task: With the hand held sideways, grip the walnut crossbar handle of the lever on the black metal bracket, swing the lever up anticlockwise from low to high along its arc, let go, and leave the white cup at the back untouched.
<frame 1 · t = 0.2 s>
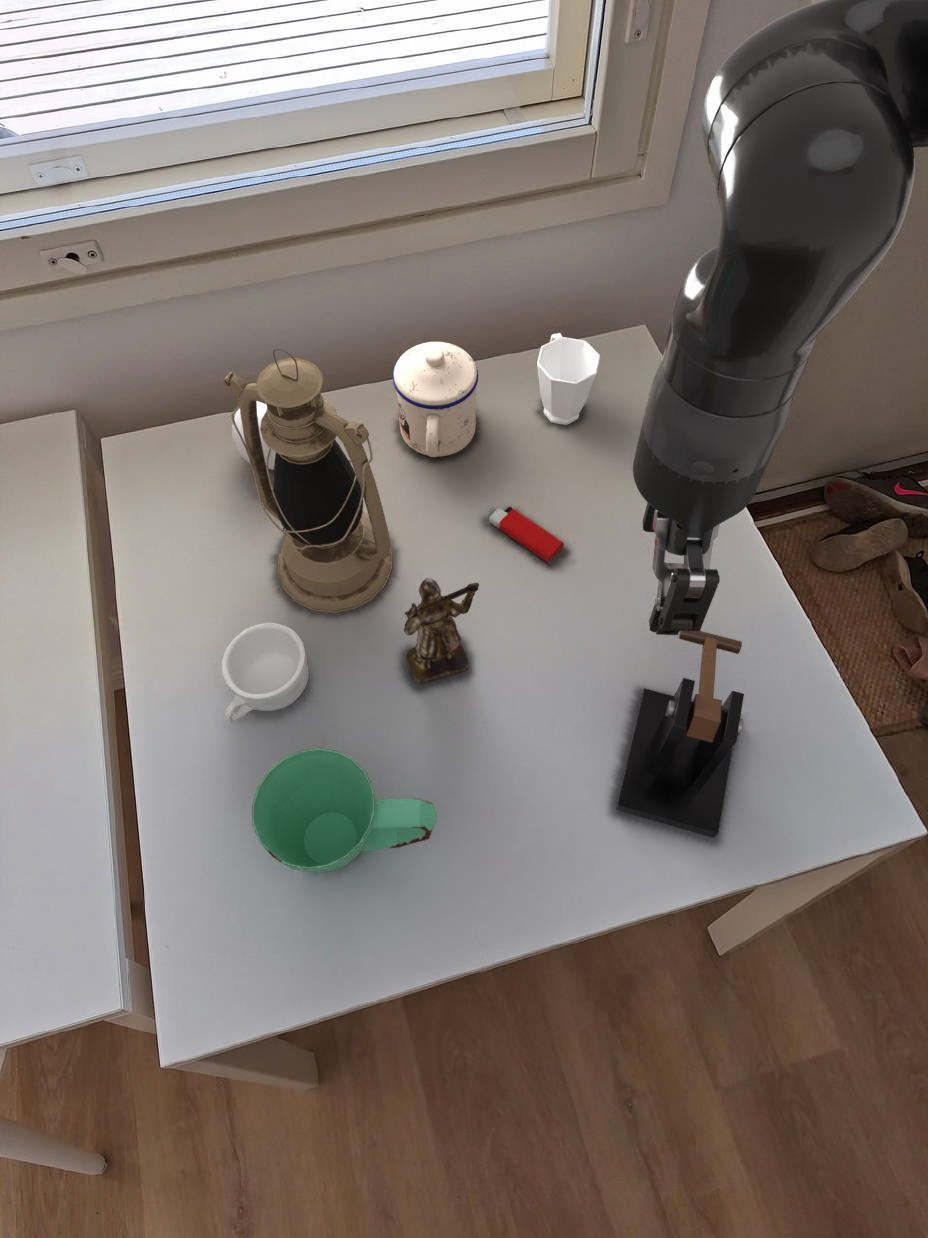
hand: (660, 576, 64), 24 cm above the table, tool pointing down, fingers open, 8 cm apart
lighter: (525, 536, 94), on the table
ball: (277, 457, 100), on the table
teacup with lid: (437, 439, 101), on the table
cup: (558, 402, 103), on the table
mug: (358, 840, 79), on the table
figurine: (444, 660, 87), on the table
lantern: (335, 563, 93), on the table
lever: (707, 679, 76), point 9 cm above the table, hinge at -25.0°
teacup: (268, 693, 86), on the table
bracket: (676, 762, 82), on the table
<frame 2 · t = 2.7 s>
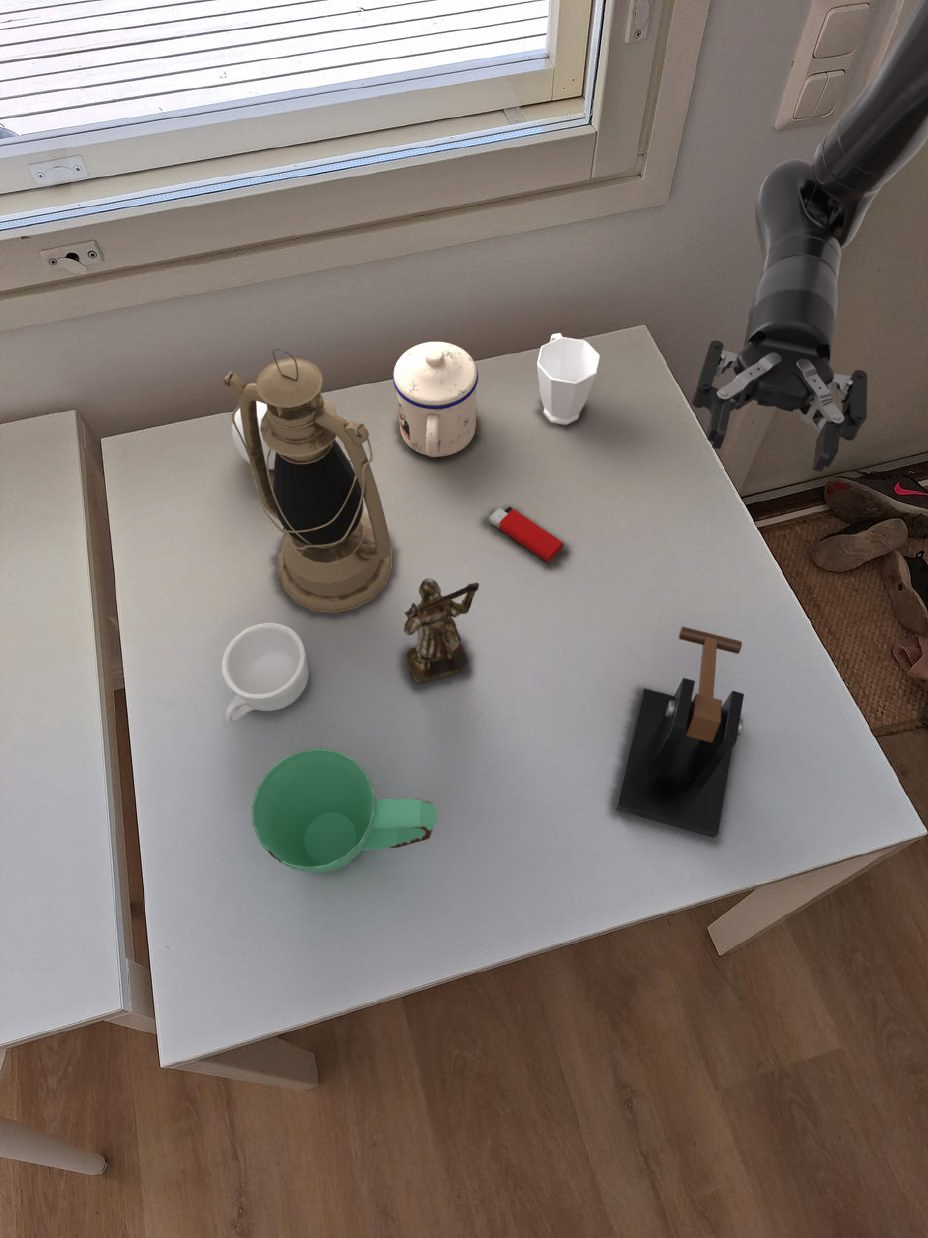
hand: (769, 453, 74), 20 cm above the table, tool horizontal, fingers open, 8 cm apart
nothing on the table moved.
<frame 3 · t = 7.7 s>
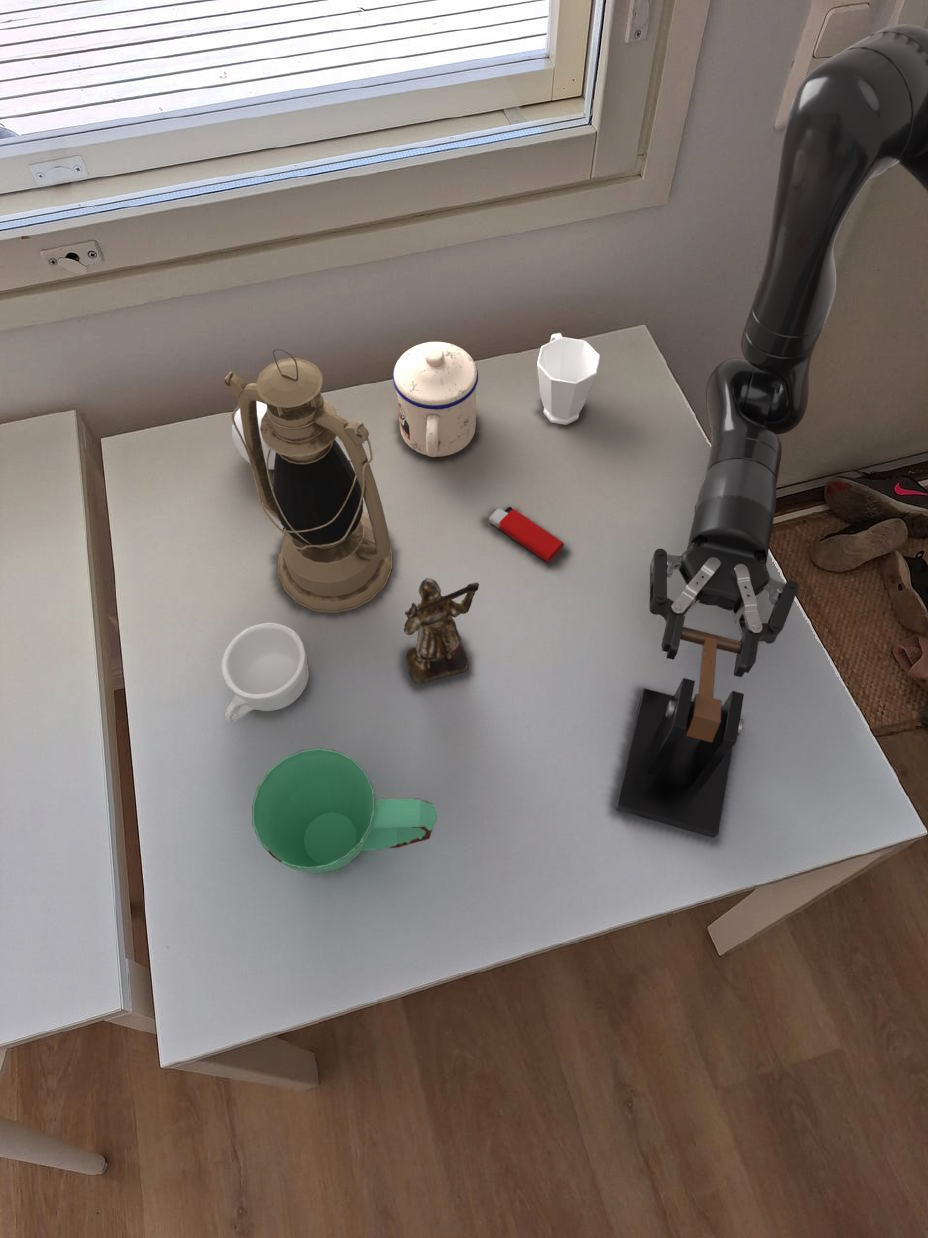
hand: (706, 663, 80), 6 cm above the table, tool horizontal, fingers closed on lever, 5 cm apart
lever: (707, 679, 76), point 9 cm above the table, hinge at -25.0°, touching gripper
everything else where it was.
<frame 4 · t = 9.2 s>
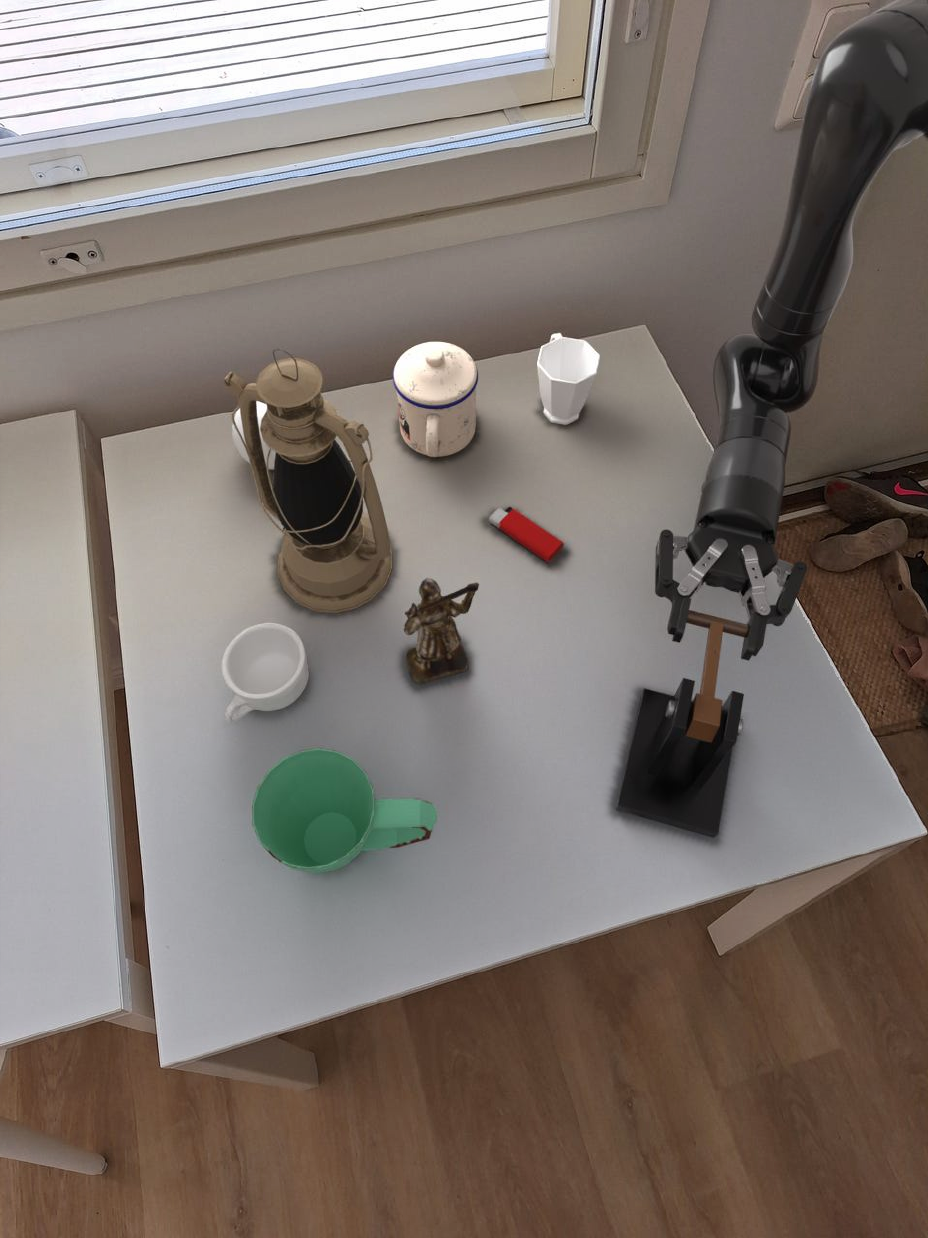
hand: (712, 646, 78), 8 cm above the table, tool horizontal, fingers closed on lever, 5 cm apart
lever: (710, 672, 76), point 10 cm above the table, hinge at -14.2°, touching gripper
everything else where it was.
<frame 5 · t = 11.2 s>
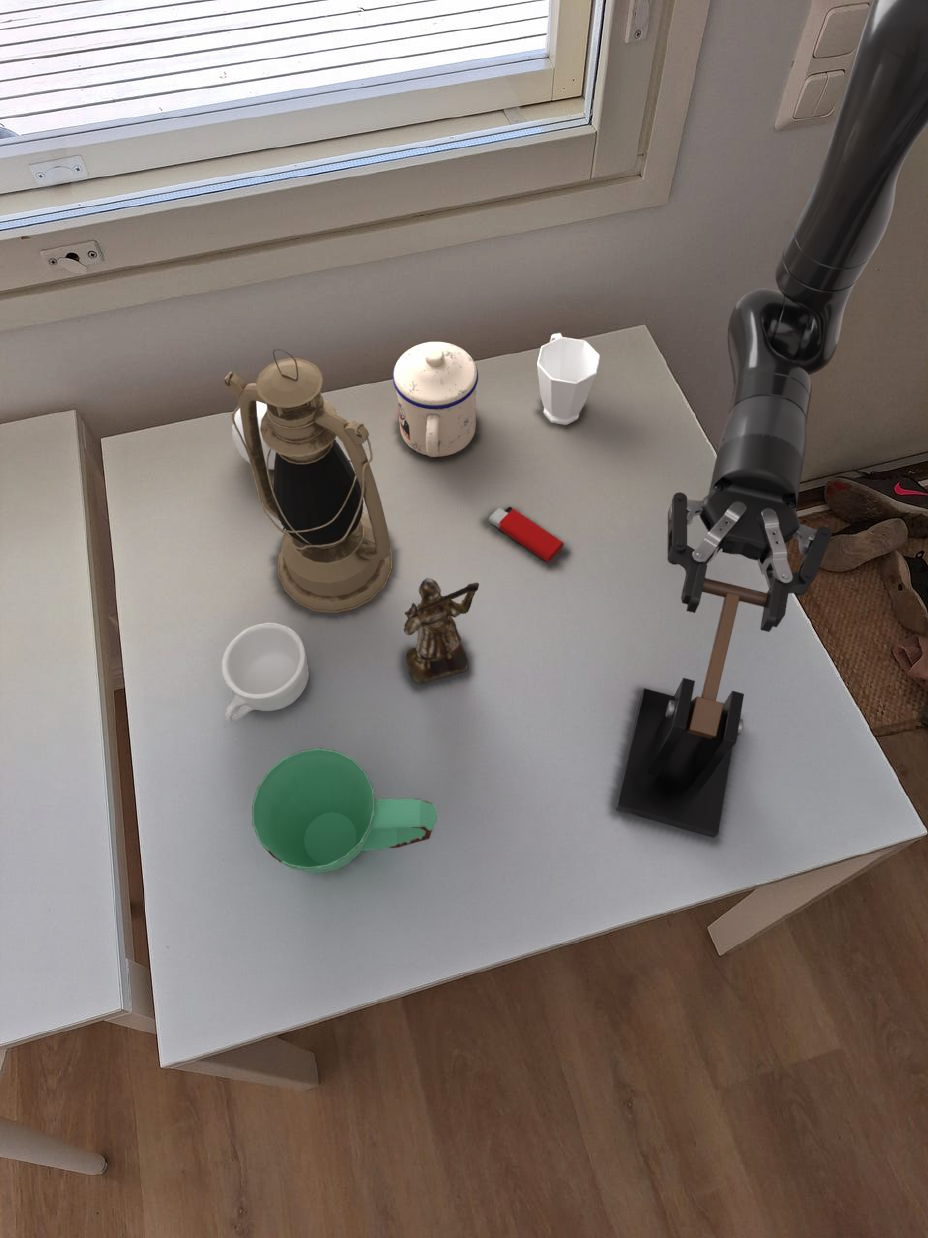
hand: (730, 616, 73), 15 cm above the table, tool horizontal, fingers closed on lever, 5 cm apart
lever: (717, 658, 73), point 12 cm above the table, hinge at 16.5°, touching gripper
everything else where it was.
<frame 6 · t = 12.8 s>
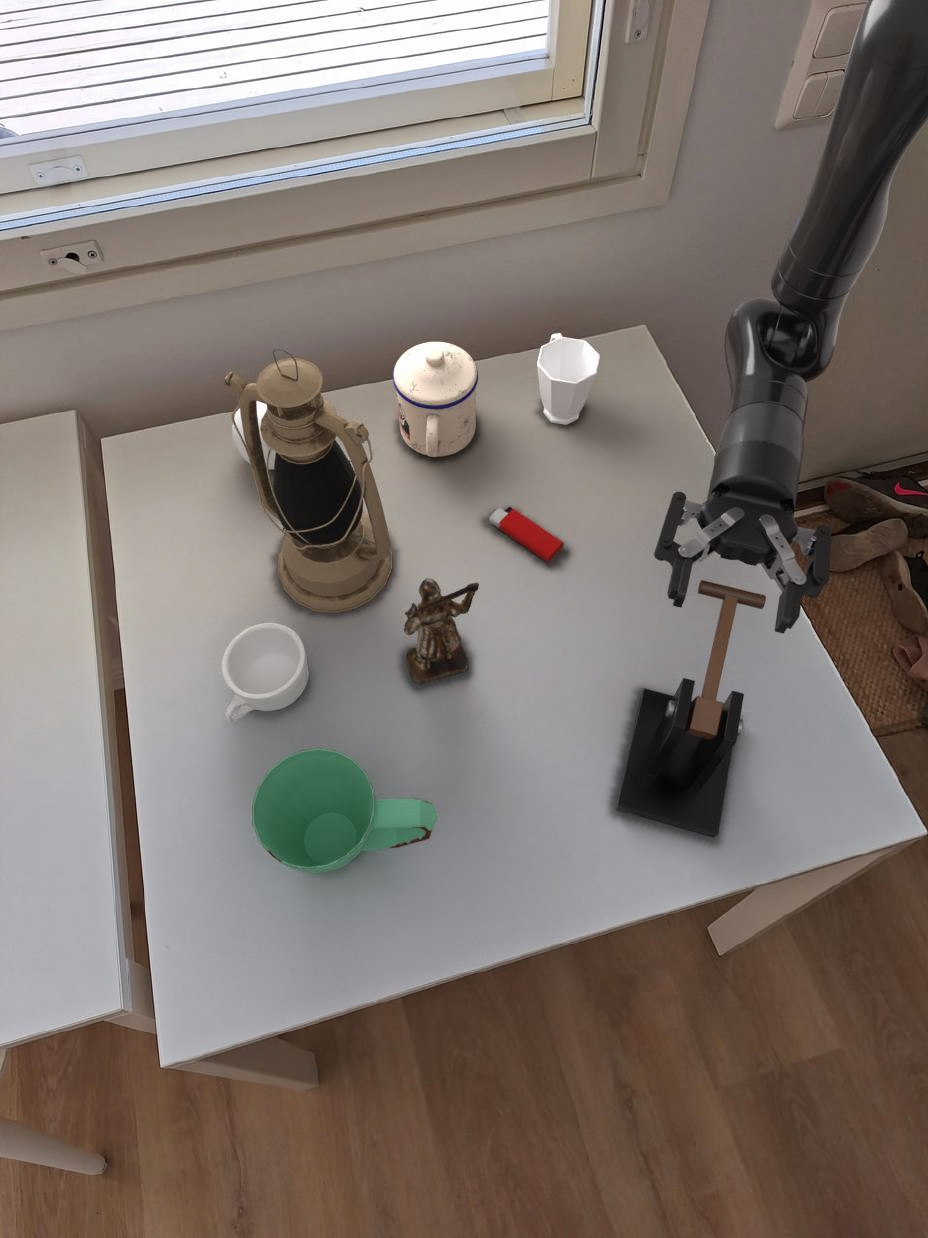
hand: (730, 615, 73), 15 cm above the table, tool horizontal, fingers open, 8 cm apart
lever: (717, 659, 74), point 12 cm above the table, hinge at 12.9°
everything else where it was.
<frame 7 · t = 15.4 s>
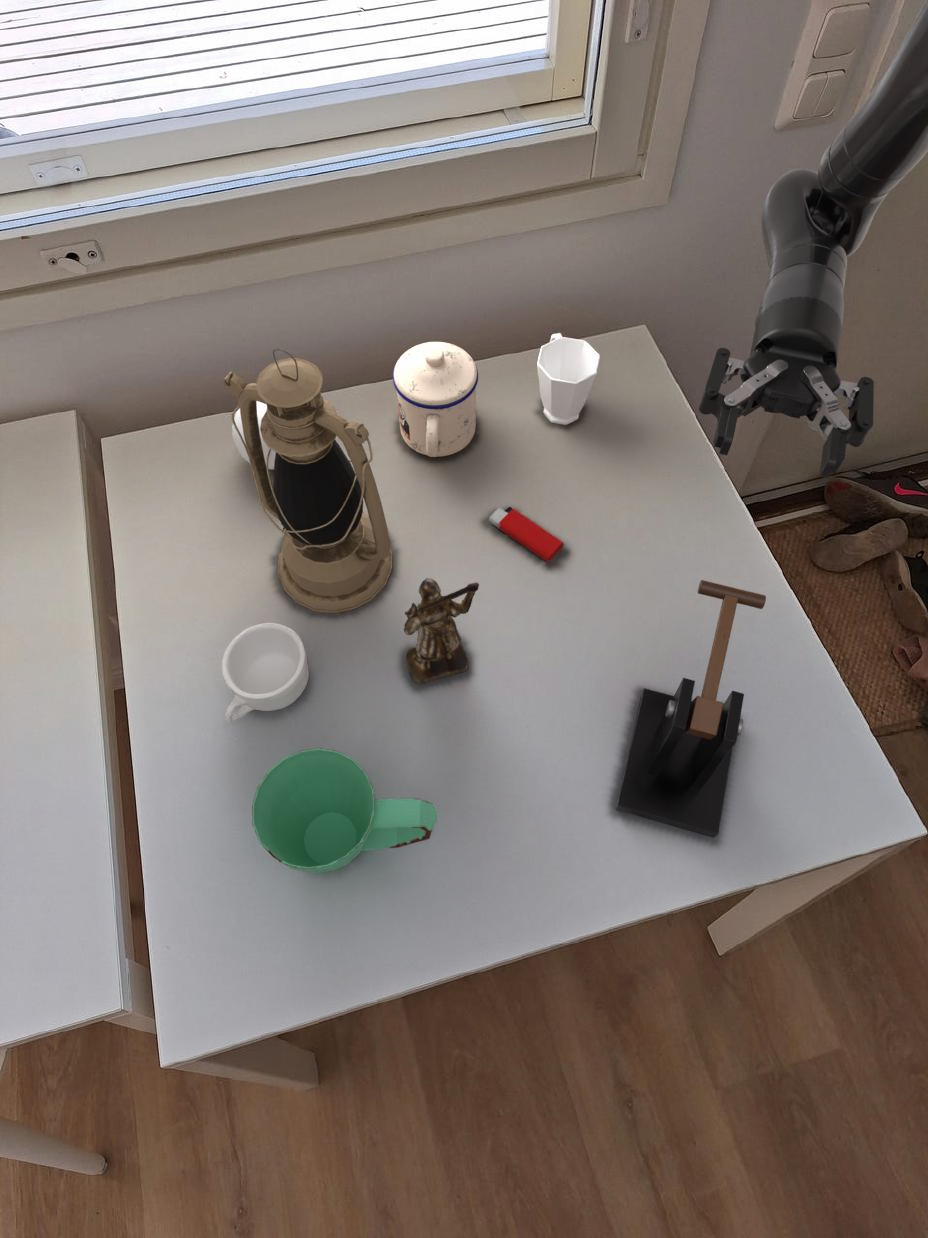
hand: (776, 459, 74), 20 cm above the table, tool horizontal, fingers open, 8 cm apart
nothing on the table moved.
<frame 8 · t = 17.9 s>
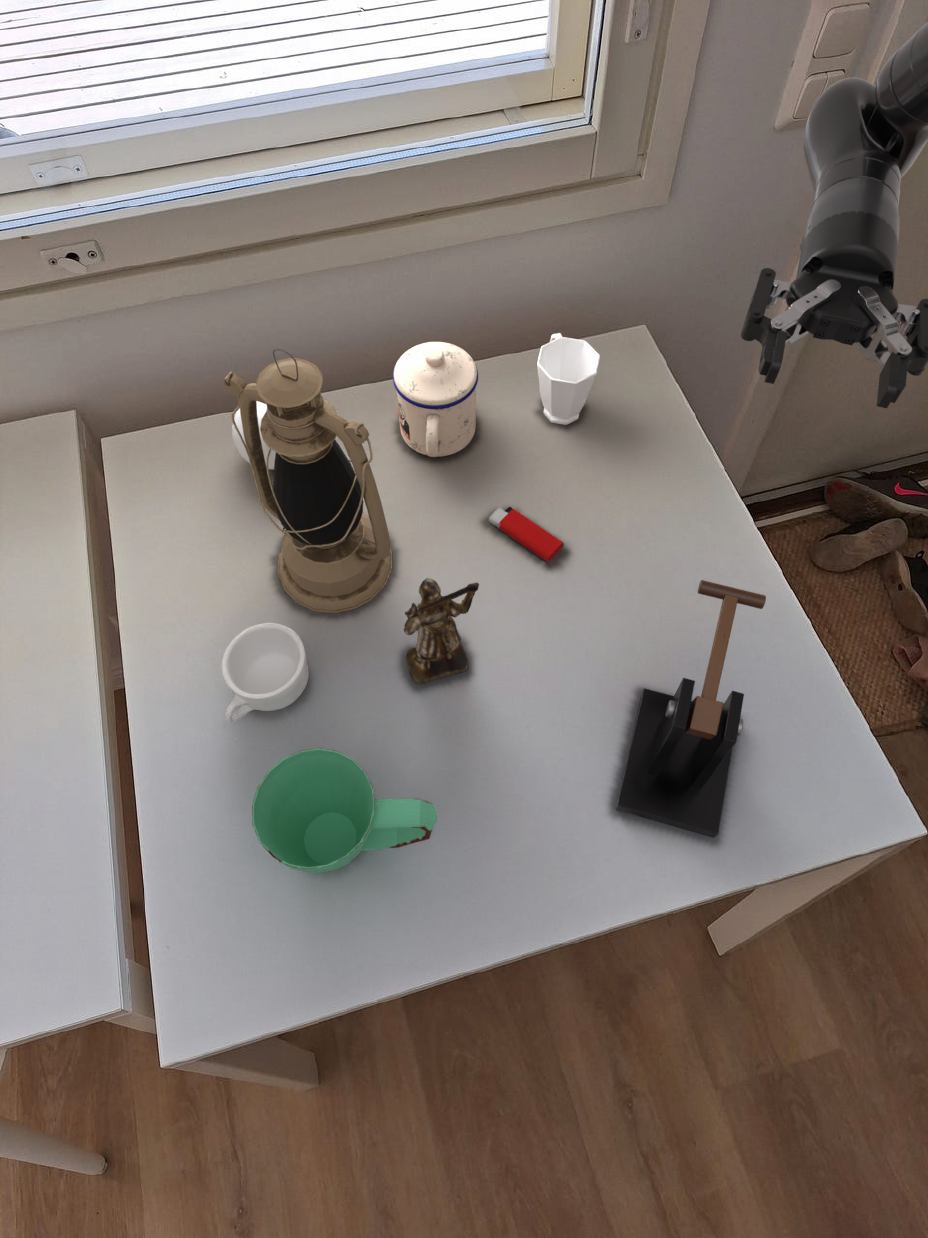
hand: (829, 387, 67), 28 cm above the table, tool horizontal, fingers open, 8 cm apart
nothing on the table moved.
at the end: lever at +13° (first picture: -25°); the gripper is holding nothing; cup moved 0.2 cm from its start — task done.
